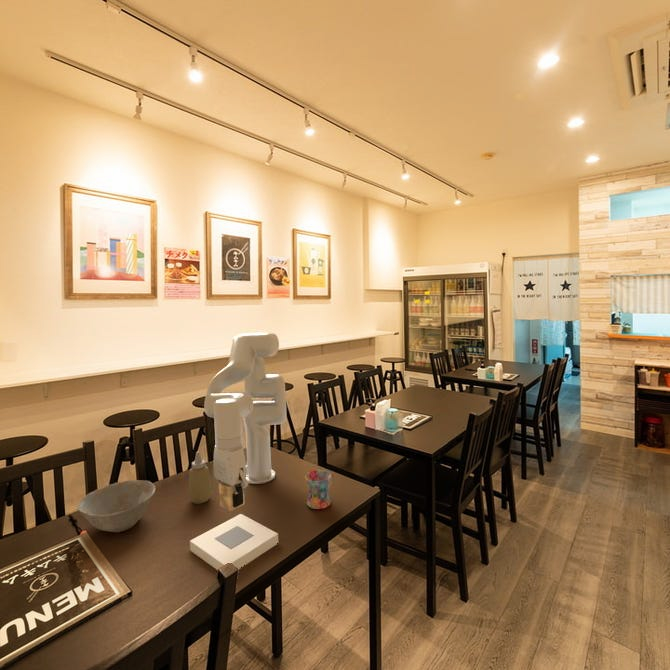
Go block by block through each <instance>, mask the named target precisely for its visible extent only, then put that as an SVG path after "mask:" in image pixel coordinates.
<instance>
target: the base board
mask: <svg viewBox="0 0 670 670" xmlns="http://www.w3.org/2000/svg"><path fill="white" fill-rule="evenodd" d="M277 543H278V544H279V533H278V532H275V530H272V529H270V528H268V527H267V526H264V525H263V524H261V523H259V522H257V521H255V520H253V519H251V518H250V517H248V516H246V515H245V514H243V513H239V514H238V515H235V516H234V517H232V518H231V519H228V520H225V522H223V523H221V524H219V525H217V526H215V527H213V528H211V529H209V530H208V531H206V532H204V533H202V534H200V535H198V536H196V537H194V538H192V539H191V540H189V550H190V552H192V553H193V554H194V555H196V556H197V557H199V558H200V559H202V560H203V561H204V562H205V563H206V564H208V565H209V566H210V567H212V568H214V569H215V570H217V571H218V569H219V568H220V567H222V566H223V565H225V564H227V563H232V564H233V565H234V566H235V567H237V568H238V570H240V569H242V568H243V567H245V566H246V565H248V564H249V563H251V562H252V561H254V560H255V559H257V558H258V557H259V556H261V555H263V554H264V553H266V552H267V551H269V550H271V549H272V548H273V547H275V546H276V545H278V544H277ZM244 565H245V566H244ZM241 567H242V568H241Z"/></svg>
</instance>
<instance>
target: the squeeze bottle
mask: <svg viewBox="0 0 670 670" xmlns="http://www.w3.org/2000/svg"><path fill="white" fill-rule="evenodd" d="M209 470H210V469H209V466H207V465H206V460H205V459H202V456H201V452H200V451H196V452H195V458H194V461H192V462H191V468H190V469H189V473H188V474H189V477H188V495H189V497H190V499H191V501H192V503H193V504H197V505H198V504H200V505H201V504H203V503H206V502H208V501H209V500H210V498H211V494H212V489H213V487H212V482H211V475H210V471H209Z"/></svg>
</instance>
